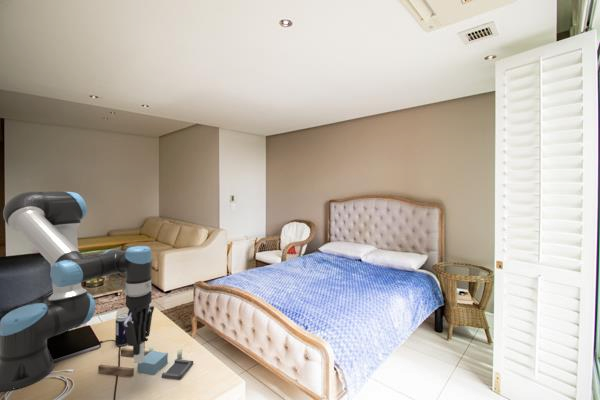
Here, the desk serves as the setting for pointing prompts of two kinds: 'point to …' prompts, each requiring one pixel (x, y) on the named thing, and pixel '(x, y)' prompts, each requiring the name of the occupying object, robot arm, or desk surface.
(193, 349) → the desk surface
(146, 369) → the block
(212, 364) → the desk surface
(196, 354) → the desk surface
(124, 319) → the beverage can
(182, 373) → the tray
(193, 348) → the desk surface
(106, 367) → the parallel brown rails
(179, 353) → the goal posts
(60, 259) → the robot arm
